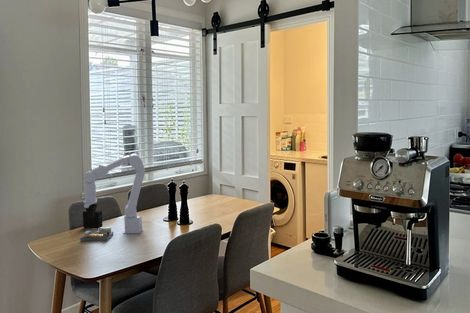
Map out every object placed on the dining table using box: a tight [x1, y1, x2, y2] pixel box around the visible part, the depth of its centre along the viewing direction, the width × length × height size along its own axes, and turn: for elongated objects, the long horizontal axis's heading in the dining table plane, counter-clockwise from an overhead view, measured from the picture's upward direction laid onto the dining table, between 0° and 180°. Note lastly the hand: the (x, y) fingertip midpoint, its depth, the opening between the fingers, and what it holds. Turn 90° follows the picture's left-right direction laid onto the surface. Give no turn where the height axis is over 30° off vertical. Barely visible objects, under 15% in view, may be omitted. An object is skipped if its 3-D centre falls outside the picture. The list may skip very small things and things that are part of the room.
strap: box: [82, 234, 108, 237], centre depth 215 cm, size 12×2×1 cm, turn 90°
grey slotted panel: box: [80, 226, 114, 243], centre depth 218 cm, size 14×11×4 cm
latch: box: [83, 230, 92, 235], centre depth 216 cm, size 2×4×2 cm, turn 0°
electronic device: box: [82, 209, 103, 230], centre depth 239 cm, size 4×10×10 cm, turn 78°
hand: (91, 217), depth 223 cm, fingers closed
